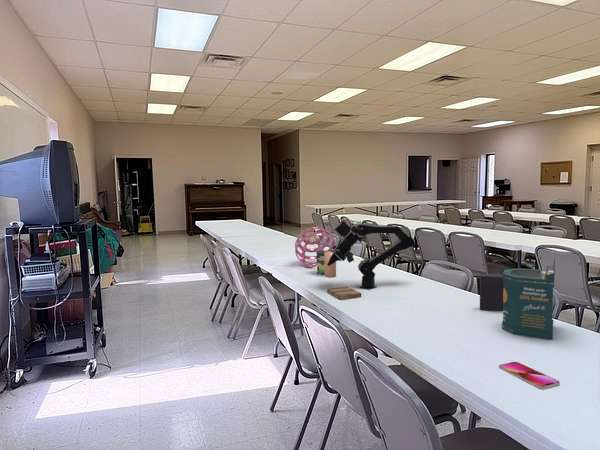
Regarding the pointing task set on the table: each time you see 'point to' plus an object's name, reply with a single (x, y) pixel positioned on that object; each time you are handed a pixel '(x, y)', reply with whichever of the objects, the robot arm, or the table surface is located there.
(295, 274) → the table surface
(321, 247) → the pink openwork sphere
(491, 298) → the dark grey block
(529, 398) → the table surface
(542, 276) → the donation box
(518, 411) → the table surface
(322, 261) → the coffee can
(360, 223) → the robot arm
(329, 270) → the peach cylinder
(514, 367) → the smartphone
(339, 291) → the shelf board
